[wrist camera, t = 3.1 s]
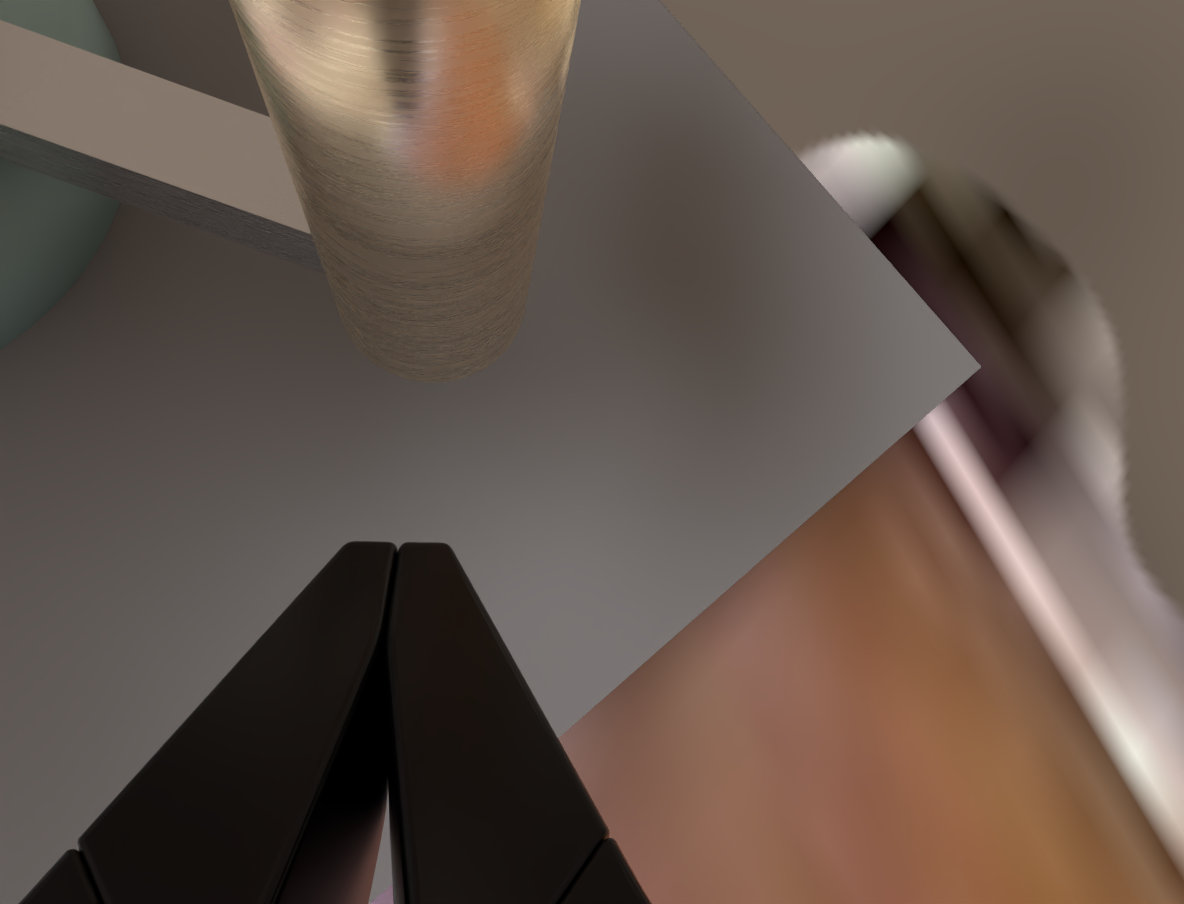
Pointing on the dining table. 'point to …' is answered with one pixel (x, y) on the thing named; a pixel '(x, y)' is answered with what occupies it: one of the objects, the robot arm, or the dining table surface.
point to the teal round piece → (48, 190)
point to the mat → (433, 419)
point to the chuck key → (336, 155)
